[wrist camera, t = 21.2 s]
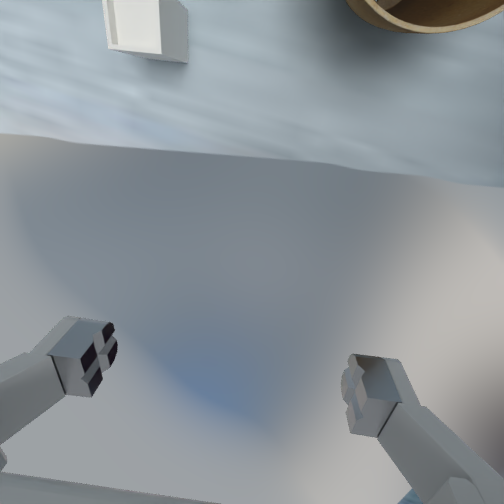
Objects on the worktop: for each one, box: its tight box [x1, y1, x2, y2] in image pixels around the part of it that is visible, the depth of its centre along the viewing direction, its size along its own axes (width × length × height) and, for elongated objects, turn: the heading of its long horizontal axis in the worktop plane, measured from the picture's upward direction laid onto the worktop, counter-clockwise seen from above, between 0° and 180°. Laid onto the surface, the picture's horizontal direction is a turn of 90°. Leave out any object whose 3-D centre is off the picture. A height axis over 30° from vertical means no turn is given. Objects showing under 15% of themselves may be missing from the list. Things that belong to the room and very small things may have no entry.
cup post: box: [102, 0, 188, 63], centre depth 29 cm, size 5×5×9 cm
